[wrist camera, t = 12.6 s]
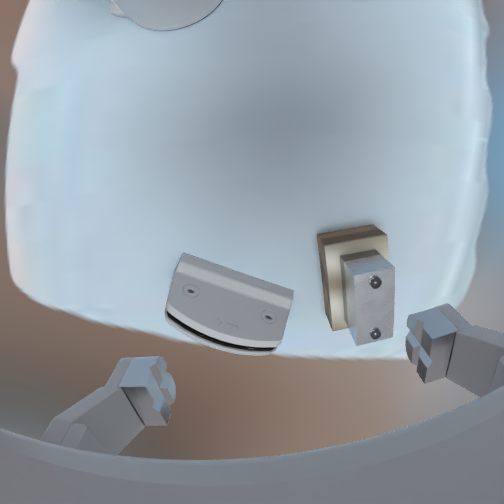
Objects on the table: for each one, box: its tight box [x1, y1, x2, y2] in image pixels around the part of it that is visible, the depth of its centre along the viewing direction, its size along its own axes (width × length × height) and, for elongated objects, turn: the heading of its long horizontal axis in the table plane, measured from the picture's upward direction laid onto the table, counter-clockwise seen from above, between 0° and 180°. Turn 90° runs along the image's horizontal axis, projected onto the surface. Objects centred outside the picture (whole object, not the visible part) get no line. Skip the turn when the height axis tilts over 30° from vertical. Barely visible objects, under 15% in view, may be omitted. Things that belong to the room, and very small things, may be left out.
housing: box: [340, 249, 395, 346], centre depth 34 cm, size 9×5×6 cm, turn 11°
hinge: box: [165, 253, 293, 355], centre depth 40 cm, size 17×5×10 cm, turn 70°
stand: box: [317, 225, 388, 331], centre depth 39 cm, size 12×8×5 cm, turn 11°
